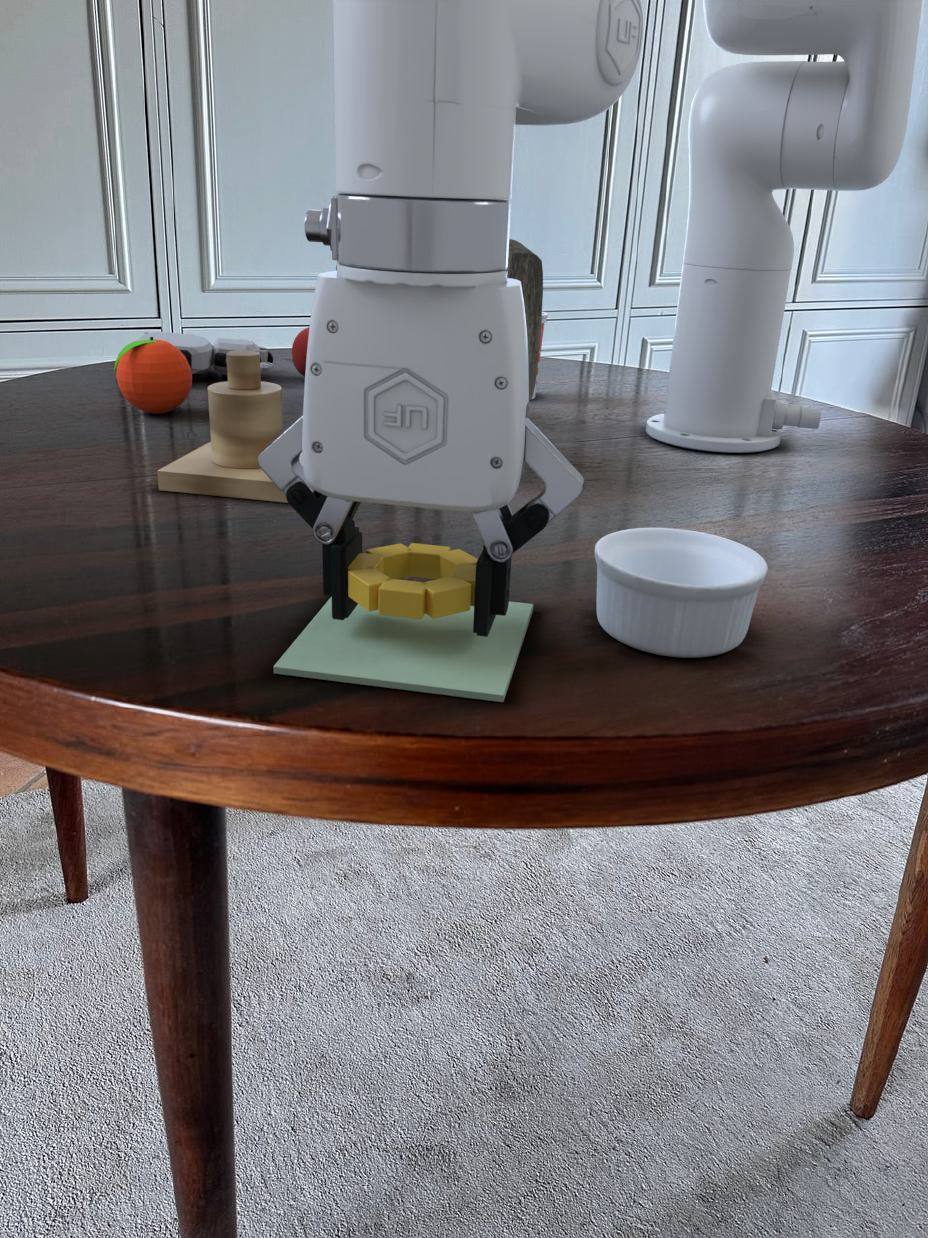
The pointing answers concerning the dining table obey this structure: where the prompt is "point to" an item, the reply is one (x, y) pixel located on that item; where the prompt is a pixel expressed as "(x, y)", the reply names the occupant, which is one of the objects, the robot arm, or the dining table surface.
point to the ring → (410, 599)
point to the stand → (233, 437)
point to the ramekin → (676, 590)
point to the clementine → (153, 375)
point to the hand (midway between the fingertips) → (415, 614)
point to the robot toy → (210, 351)
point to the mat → (411, 651)
